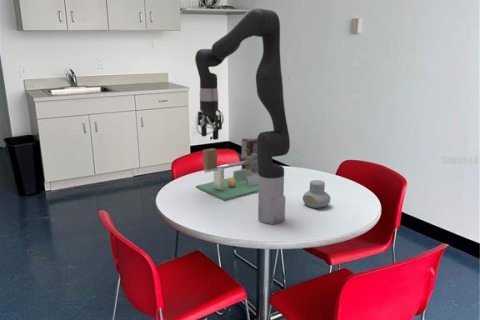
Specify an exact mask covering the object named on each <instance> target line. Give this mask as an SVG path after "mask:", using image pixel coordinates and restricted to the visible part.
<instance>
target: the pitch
mask: <svg viewBox="0 0 480 320" xmlns="http://www.w3.org/2000/svg"><path fill="white" fill-rule="evenodd" d="M230 178H233V176H232V177H228V178H224V190H221V191H220V190H218V189H216V188H214V181H211V182H206V183H203V184H197V185H195V187H196V189H197V188H198V190H200V191H202V192H204V193H206V194H209V195H210V196H212V197H215V198H216V199H219V200H220V201H221V200H222V201H223V202H226V201H231V200H233V199H237V198H241V197H245V196H249V195H252V194H256V193H257V194H258V185H256V186H252V187H247V181H245V180H241V181H237V182H236V185H235V186H233V187H230V186H229V185H228V184H227V181H228V179H230Z"/></svg>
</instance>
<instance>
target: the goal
mask: <svg viewBox="0 0 480 320" xmlns="http://www.w3.org/2000/svg"><path fill="white" fill-rule="evenodd" d="M232 177H233V178H234V179H235V180H236V182H237V181H241V180H245V181H247V187H252V186H256V185H258V184H259V174H257V173H254V172H252V171H249V170H246V169H242V168H241V169H237V170H233V171H232Z"/></svg>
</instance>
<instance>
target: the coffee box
mask: <svg viewBox="0 0 480 320" xmlns="http://www.w3.org/2000/svg"><path fill="white" fill-rule="evenodd" d="M240 141H241V161H246V160H250V159H251V153H257V138H242V139H241V140H240ZM241 169H246V170H249V171H251V163H248V164H244V165H241Z"/></svg>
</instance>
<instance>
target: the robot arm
mask: <svg viewBox="0 0 480 320" xmlns="http://www.w3.org/2000/svg"><path fill="white" fill-rule="evenodd" d="M280 36H281V23H280V17H279V16H278V14H277V12H276V11H274V10H272V9H271V10H270V9H265V8H264V9H263V8H253V9H251V10H250V11H248V13H246V14H245V15H244V17H243V18H242V19H241V20H240V21H239V22H238V23H237V24H236V25H235V26H234V27H233V28H232V29H231V30H230V31H229V32H228V33H226V34H225V35H224V36H222V37H221V38H220V39H218V40H217V41H215V42H214V43H213V44H212V46H211V48H200V49H198V50H197V51H196V52H195V57H194V62H195V65H196V68H197V72H198V73H197V74H198V76H199V82H200V83H199V110H200V111H198V112H197V125H198V126H199V127H200V129H201V132H200V133H201V134H200V135H201V137H203V138H204V137H207V135H208V133H207V131H208V129H207V125H209V126H210V127H211V129H212V140H213V141H215V140H219V131H220V130H222V129H223V127H222V126H223V125H222V123H223V122H222V115H221V114H217V112H218V111H219V89H218V76H217V74H216V73H214V72H211V71H210V68H214V67H215V68H216V67H217V66H219V65H221V64H222V63H223V62H224V60H226V58H228V57H229V56H231V55H232V54H234V53H235V52H236V51H237V50H238V49H239V48H240V46H241V43H242V42H243V41H245V40H247V39H248V38H252V37H258V38H260V37H261V38H262V56H261V59H260V62H259V64H258V67H257V69H256V73H255V84H256V93H257V97H258V99H259V101H260V102H261V104H262V105H263V107H264V109H266V111H267V113H268V114H269V116H270V119H271V121H272V127H273V130H269V131H266V130H265V131H261V132H260V133H258V135H257V137H256V139H257V165H258V170H259V184H258V192H257V195H258V197H257V198H258V199H257V200H258V201H257V206H258V207H257V211H258V212H257V219H258V221H259V222H261V223H264V224H270V225H276V224H279V223H282V222H284V221H286V196H285V194H284V192H285V191H284V189H285V187H284V186H285V168H284V167H283V165H280V164H277V163H274V162H273V158H274V157H282V156H283V157H284V156H285V155H287V154H288V153H289V151H290V148H291V145H290V144H291V143H290V133H289V128H288V122H287V117H286V110H285V102H284V101H285V99H284V84H283V75H282V74H283V73H282V67H281V37H280Z"/></svg>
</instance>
